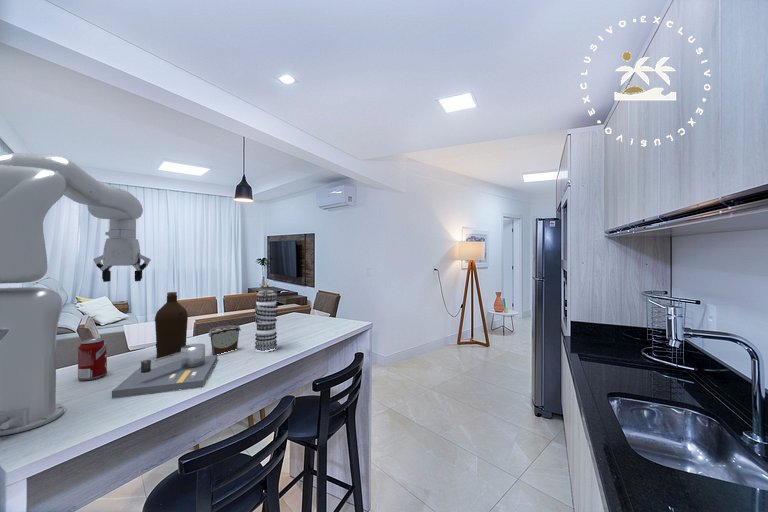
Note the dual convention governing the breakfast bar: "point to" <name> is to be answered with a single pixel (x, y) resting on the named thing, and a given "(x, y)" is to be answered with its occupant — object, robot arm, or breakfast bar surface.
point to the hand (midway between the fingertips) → (122, 281)
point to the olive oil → (170, 327)
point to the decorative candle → (266, 320)
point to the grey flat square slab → (165, 379)
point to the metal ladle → (178, 358)
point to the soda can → (92, 359)
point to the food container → (224, 339)
